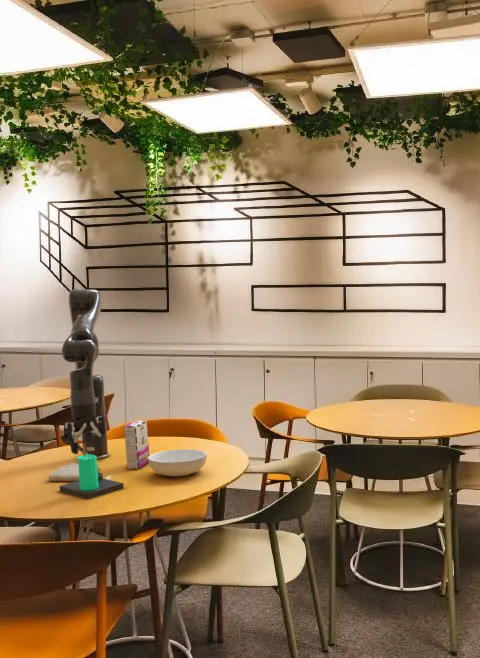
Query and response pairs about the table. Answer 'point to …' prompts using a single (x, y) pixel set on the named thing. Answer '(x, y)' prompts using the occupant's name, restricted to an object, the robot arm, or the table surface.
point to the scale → (104, 488)
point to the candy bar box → (136, 444)
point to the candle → (88, 472)
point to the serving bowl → (177, 462)
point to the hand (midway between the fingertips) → (86, 450)
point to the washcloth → (66, 473)
